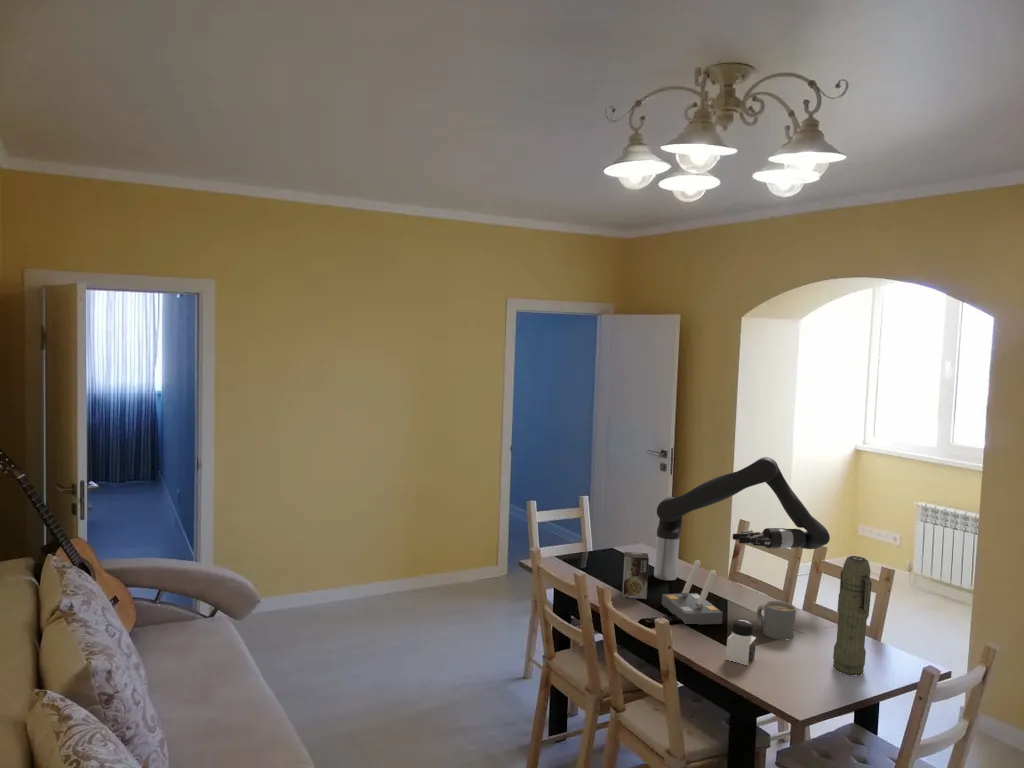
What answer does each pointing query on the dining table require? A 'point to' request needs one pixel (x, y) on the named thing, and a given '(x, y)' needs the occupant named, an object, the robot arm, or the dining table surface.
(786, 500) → the robot arm
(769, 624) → the coffee mug
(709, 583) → the switch
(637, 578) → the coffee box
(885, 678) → the dining table surface
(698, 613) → the switch unit
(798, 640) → the dining table surface
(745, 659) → the medicine bottle
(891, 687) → the dining table surface
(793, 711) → the dining table surface
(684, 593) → the switch
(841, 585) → the thermos
